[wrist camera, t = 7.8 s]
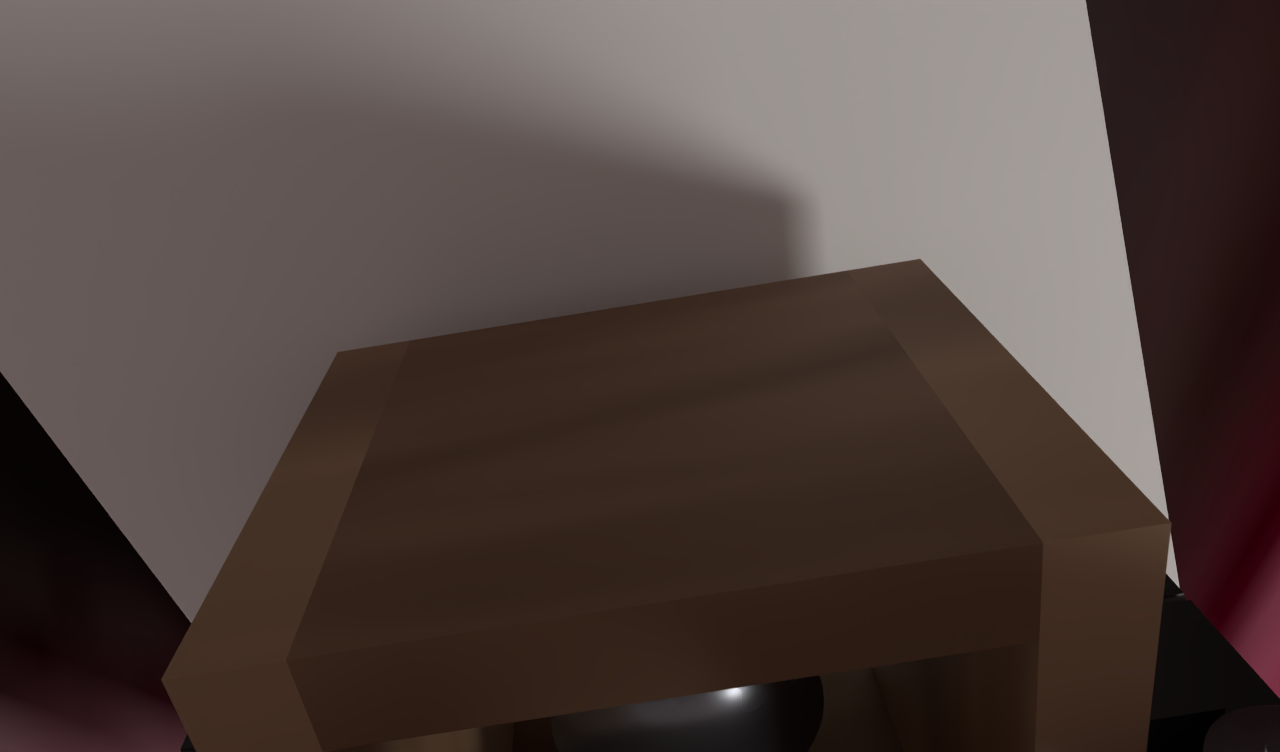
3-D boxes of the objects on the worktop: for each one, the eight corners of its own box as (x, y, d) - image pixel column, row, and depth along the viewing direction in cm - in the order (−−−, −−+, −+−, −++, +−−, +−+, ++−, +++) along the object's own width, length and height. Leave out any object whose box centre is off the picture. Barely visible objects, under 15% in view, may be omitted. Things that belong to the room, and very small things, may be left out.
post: (522, 445, 12) (506, 664, 9) (714, 374, 12) (777, 568, 9) (598, 596, 14) (611, 844, 10) (775, 533, 13) (855, 764, 10)
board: (-165, 35, 11) (-244, 49, 10) (955, -462, 10) (1004, -509, 9) (480, 932, 18) (475, 996, 17) (1166, 709, 17) (1207, 763, 16)
